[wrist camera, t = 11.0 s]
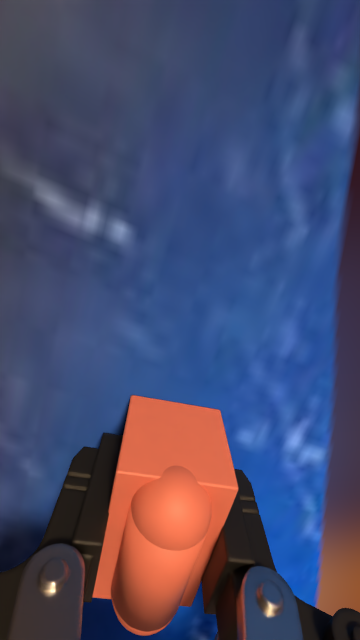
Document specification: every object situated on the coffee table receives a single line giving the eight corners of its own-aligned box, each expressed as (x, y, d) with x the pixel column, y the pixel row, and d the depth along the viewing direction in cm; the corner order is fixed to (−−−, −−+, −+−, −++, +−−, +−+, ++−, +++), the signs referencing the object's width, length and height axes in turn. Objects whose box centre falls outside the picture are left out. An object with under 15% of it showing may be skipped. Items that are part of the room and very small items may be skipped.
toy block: (109, 503, 12) (80, 647, 8) (131, 391, 10) (108, 509, 6) (185, 513, 12) (192, 656, 8) (221, 407, 10) (251, 528, 6)
